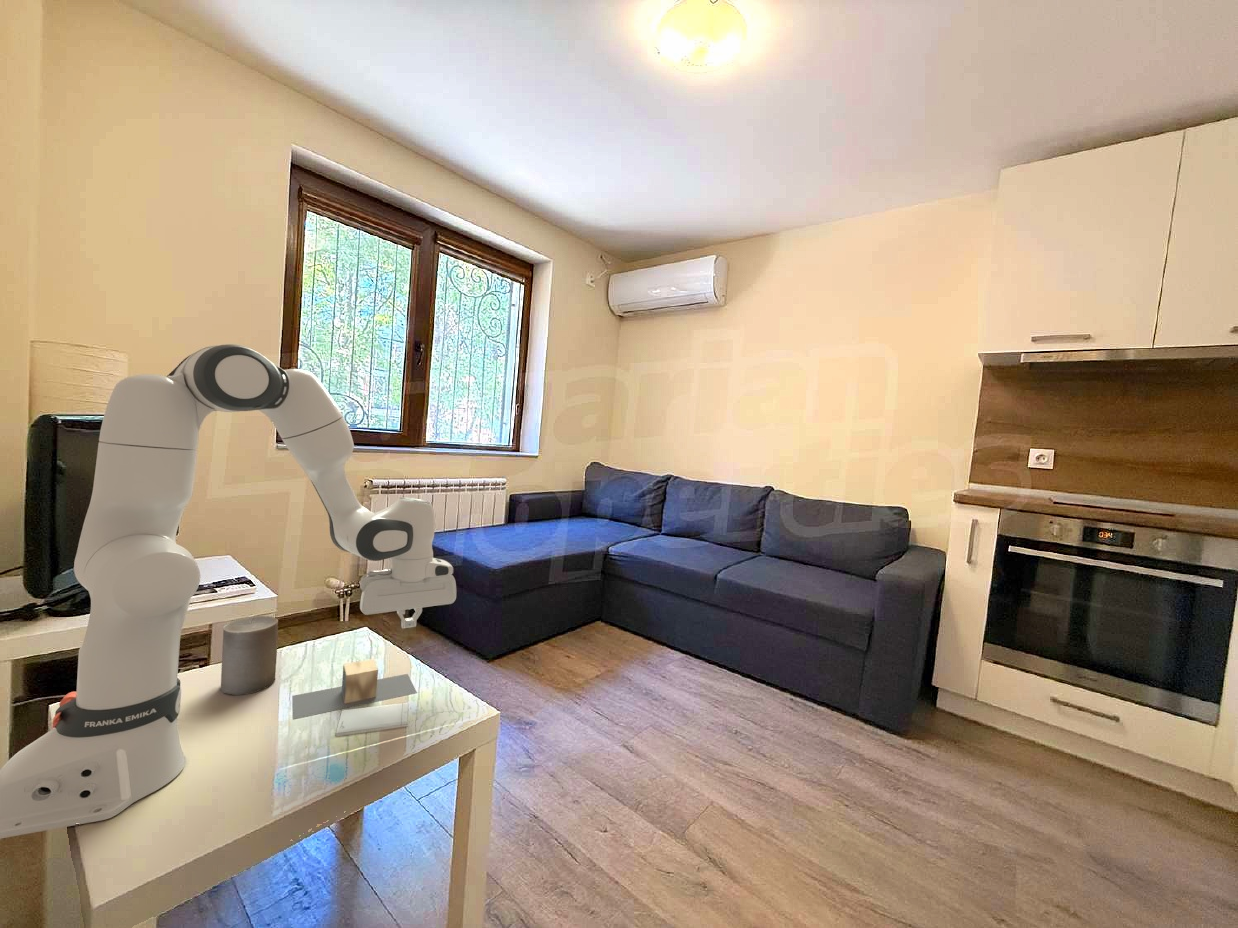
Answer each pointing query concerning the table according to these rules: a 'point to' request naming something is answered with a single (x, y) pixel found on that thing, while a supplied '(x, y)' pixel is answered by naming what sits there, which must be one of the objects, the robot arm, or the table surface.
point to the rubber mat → (335, 701)
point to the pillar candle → (249, 654)
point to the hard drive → (372, 719)
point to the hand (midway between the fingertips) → (408, 626)
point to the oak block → (359, 680)
